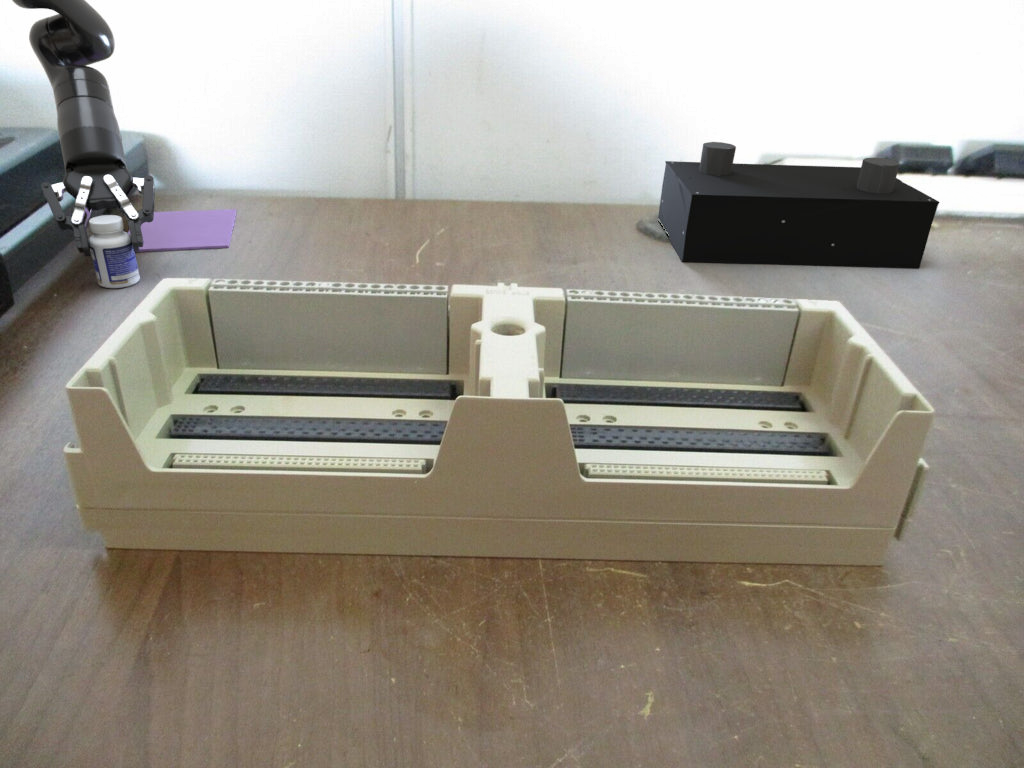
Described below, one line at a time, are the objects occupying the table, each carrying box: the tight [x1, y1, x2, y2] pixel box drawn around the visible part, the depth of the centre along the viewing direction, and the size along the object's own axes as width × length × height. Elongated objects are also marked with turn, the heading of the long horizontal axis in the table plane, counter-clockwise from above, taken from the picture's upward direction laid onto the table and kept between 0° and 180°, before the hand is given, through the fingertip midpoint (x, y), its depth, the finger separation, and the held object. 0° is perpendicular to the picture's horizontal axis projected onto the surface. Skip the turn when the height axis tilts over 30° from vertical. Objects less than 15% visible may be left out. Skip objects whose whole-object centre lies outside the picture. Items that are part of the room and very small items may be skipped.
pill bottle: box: [88, 214, 141, 289], centre depth 103 cm, size 5×5×9 cm
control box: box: [657, 141, 940, 269], centre depth 128 cm, size 38×24×15 cm, turn 90°
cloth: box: [127, 208, 238, 253], centre depth 126 cm, size 16×20×1 cm
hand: (112, 250), depth 101 cm, fingers closed on pill bottle, 5 cm apart
